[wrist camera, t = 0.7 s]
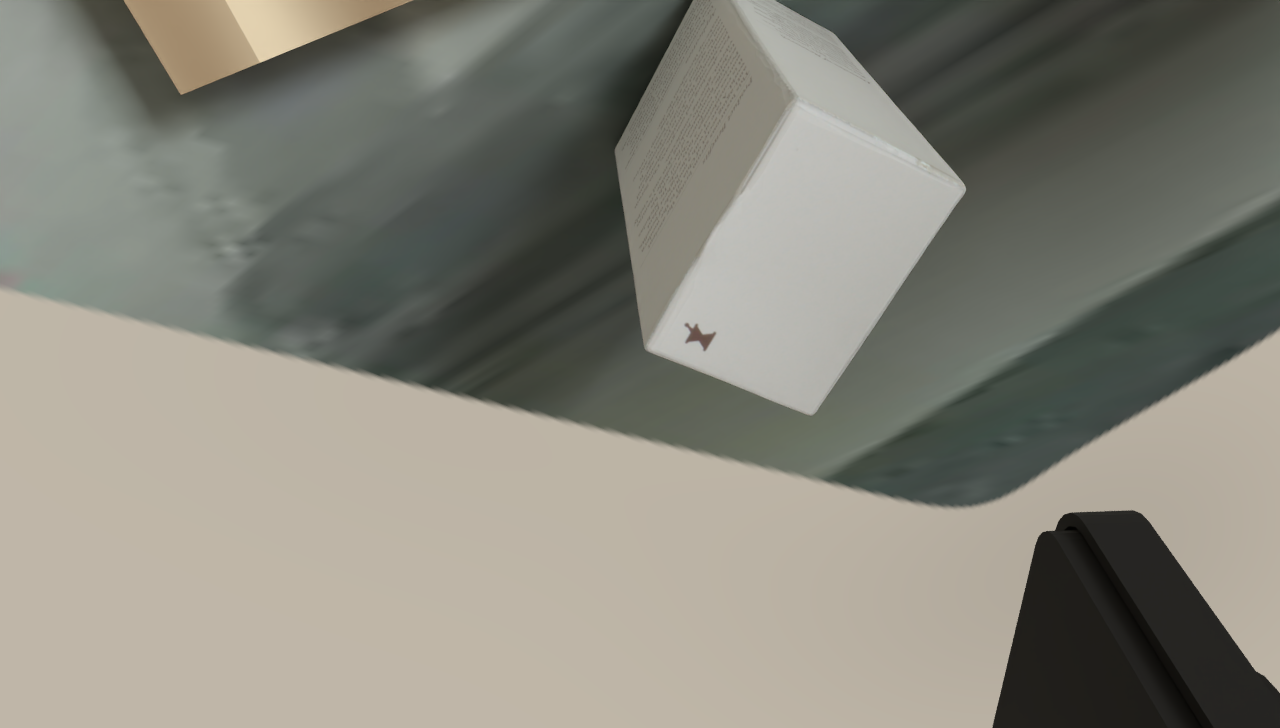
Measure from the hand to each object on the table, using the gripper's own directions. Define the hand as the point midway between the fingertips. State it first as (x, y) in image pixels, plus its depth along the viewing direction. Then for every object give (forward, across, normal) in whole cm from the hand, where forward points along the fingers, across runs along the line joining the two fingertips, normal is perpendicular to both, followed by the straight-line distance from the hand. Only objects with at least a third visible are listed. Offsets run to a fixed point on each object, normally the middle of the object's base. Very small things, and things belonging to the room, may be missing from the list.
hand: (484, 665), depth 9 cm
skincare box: (+25, -5, +3) cm, 26 cm away
